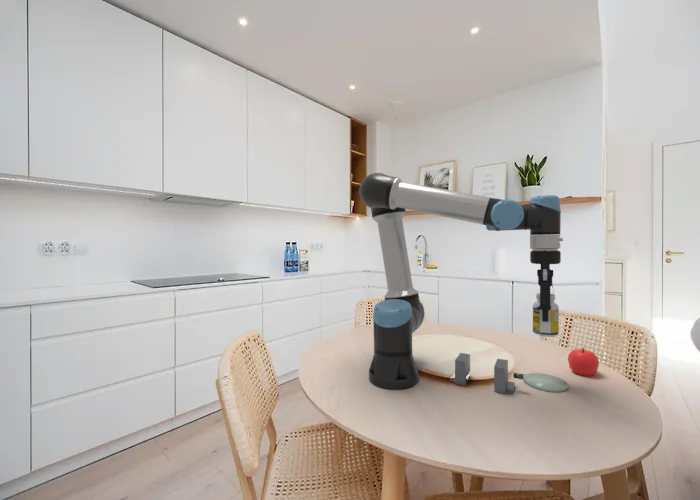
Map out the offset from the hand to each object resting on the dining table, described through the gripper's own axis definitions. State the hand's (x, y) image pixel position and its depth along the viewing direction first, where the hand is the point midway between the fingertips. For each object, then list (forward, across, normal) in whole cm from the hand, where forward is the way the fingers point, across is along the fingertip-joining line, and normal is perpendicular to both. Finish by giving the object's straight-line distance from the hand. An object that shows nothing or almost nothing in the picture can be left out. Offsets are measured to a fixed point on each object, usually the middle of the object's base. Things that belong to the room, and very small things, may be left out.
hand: (545, 329), depth 95 cm
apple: (+16, +14, -10) cm, 24 cm away
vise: (+16, -9, +15) cm, 24 cm away
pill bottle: (+2, 0, 0) cm, 2 cm away
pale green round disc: (+16, 0, 0) cm, 16 cm away
